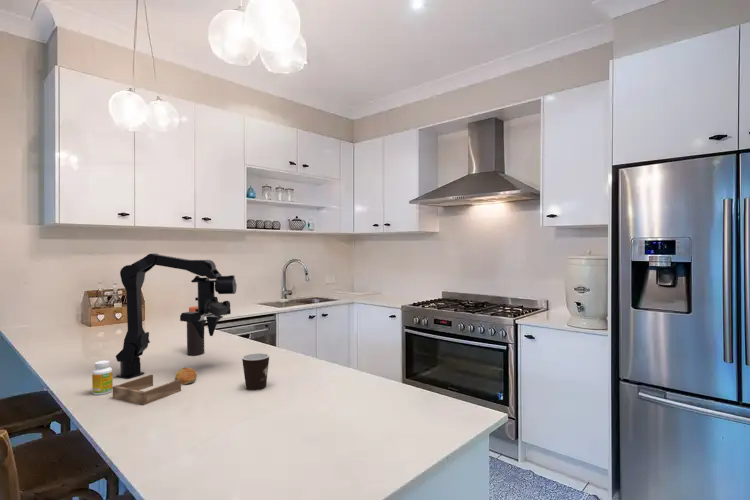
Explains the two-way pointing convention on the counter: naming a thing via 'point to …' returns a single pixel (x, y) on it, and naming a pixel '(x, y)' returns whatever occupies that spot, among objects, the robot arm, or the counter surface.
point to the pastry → (186, 375)
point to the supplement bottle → (102, 378)
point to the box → (132, 393)
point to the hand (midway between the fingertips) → (206, 337)
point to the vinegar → (194, 338)
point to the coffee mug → (255, 370)
